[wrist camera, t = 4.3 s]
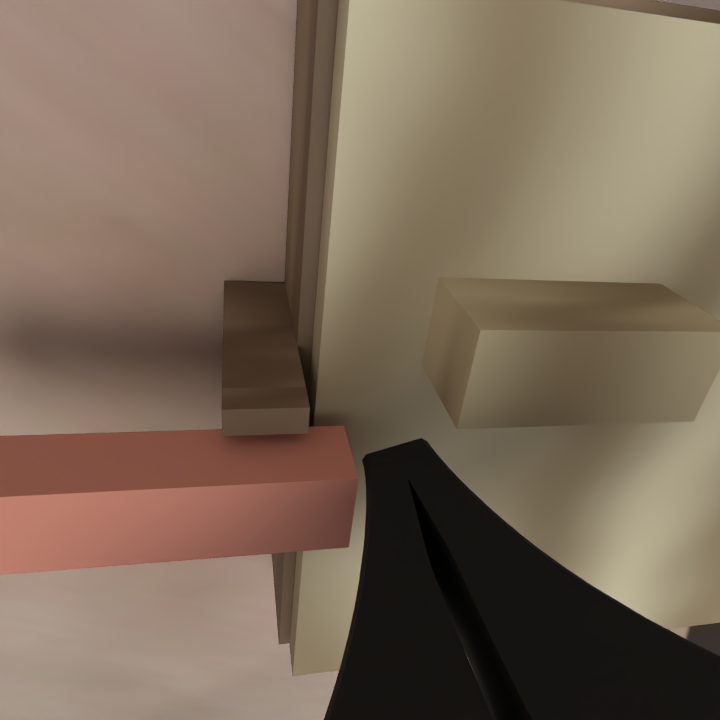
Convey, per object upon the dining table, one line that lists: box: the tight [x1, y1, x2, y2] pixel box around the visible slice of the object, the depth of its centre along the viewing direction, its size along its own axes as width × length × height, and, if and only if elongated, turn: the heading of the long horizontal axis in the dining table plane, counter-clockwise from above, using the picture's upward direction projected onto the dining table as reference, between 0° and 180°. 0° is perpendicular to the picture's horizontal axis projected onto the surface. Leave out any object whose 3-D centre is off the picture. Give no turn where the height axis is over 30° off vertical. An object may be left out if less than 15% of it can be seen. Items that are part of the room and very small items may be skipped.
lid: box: [290, 0, 720, 676], centre depth 14 cm, size 15×17×3 cm
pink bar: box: [0, 426, 359, 575], centre depth 11 cm, size 9×2×2 cm, turn 84°
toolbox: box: [222, 0, 720, 644], centre depth 16 cm, size 18×18×6 cm
